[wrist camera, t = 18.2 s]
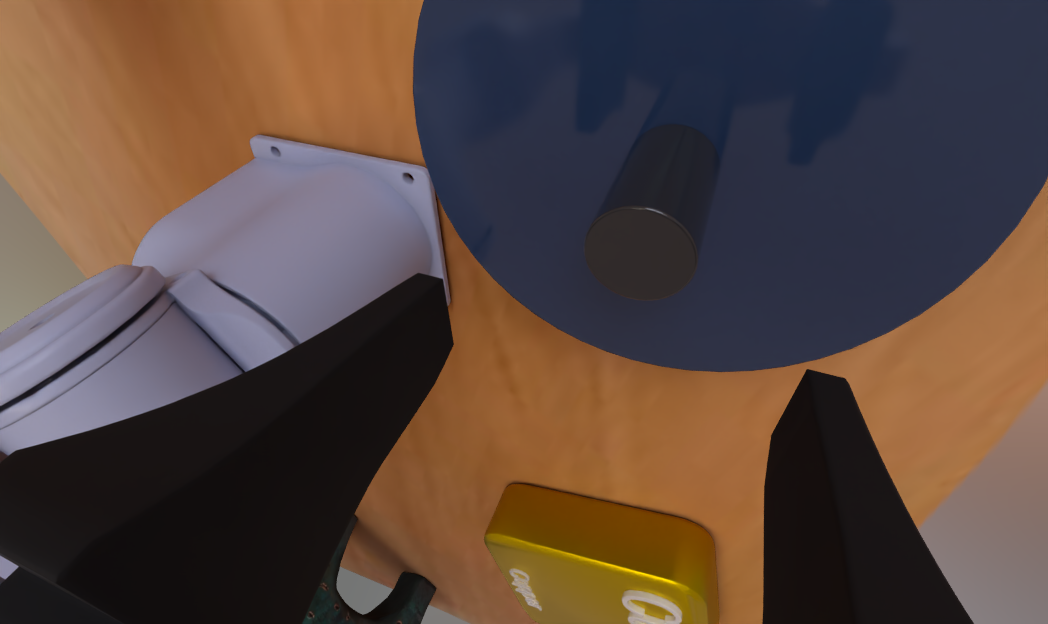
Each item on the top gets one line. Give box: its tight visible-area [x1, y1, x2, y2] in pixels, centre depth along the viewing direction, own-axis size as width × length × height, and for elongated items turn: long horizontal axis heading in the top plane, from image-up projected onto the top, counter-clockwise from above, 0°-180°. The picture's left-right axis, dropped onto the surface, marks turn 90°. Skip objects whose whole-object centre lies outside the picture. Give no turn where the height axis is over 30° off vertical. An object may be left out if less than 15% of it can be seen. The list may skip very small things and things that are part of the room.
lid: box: [413, 0, 1048, 372], centre depth 13 cm, size 15×15×5 cm
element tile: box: [484, 484, 719, 624], centre depth 38 cm, size 15×15×5 cm
